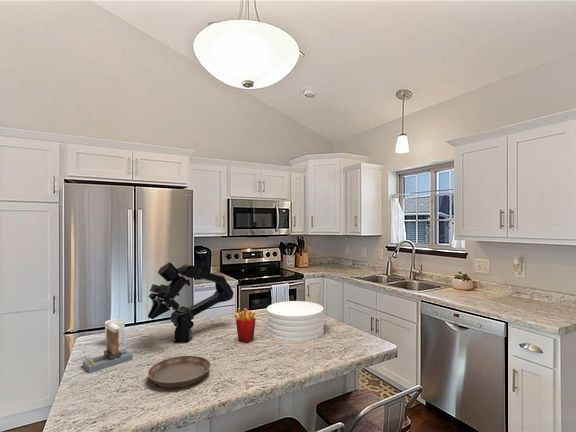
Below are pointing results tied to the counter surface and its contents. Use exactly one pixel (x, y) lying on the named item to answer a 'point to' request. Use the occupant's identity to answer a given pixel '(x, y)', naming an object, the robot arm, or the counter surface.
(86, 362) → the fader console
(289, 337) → the plate stack
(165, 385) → the plant saucer
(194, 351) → the counter surface
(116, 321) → the white cup
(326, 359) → the counter surface
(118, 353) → the slide lever
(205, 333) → the counter surface
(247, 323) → the french fries
